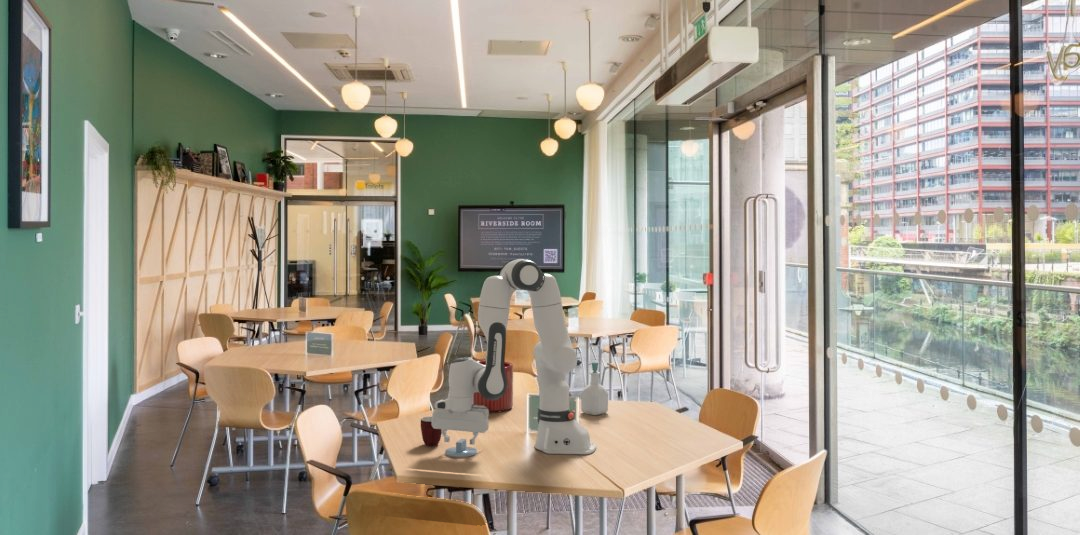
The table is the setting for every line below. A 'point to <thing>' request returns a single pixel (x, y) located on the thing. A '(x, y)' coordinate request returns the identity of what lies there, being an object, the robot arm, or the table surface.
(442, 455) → the mat
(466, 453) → the lid
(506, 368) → the planter
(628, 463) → the table surface
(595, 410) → the soap bottle
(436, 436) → the mug
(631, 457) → the table surface
